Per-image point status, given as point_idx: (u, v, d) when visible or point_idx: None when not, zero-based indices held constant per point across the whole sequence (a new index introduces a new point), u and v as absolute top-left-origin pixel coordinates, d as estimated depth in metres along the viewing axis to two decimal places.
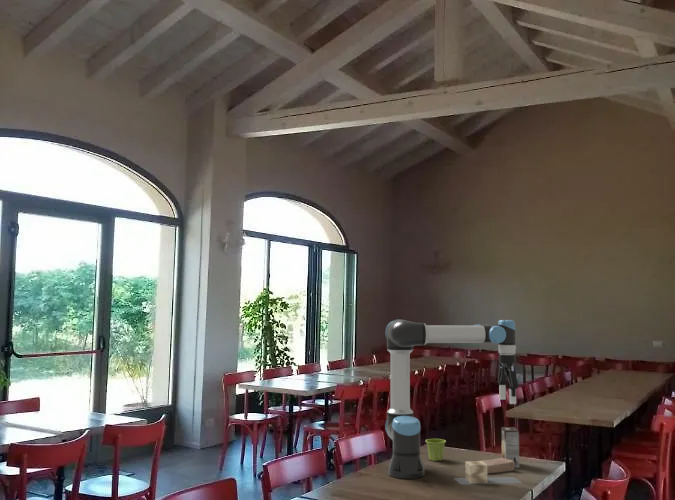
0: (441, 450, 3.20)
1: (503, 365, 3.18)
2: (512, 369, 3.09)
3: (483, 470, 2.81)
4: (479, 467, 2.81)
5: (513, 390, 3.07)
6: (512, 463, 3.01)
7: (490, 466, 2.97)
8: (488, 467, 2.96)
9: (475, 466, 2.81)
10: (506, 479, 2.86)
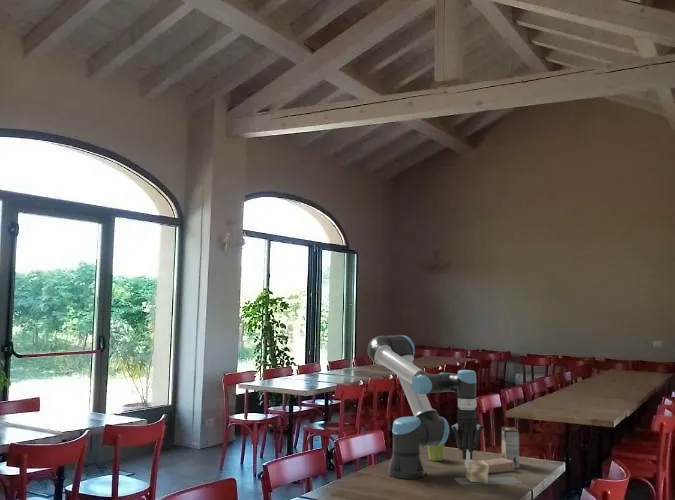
0: (441, 450, 3.20)
1: None
2: (453, 429, 2.84)
3: (484, 470, 2.81)
4: (481, 466, 2.81)
5: (462, 452, 2.84)
6: (512, 463, 3.01)
7: (489, 466, 2.97)
8: None
9: (477, 465, 2.81)
10: (506, 479, 2.86)
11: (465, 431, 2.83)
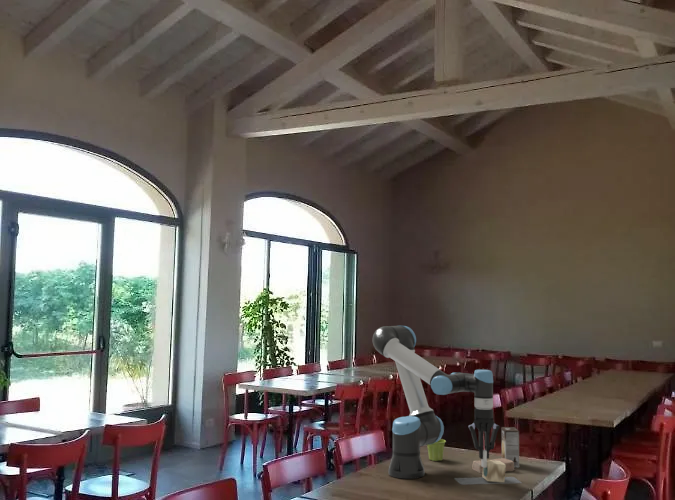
0: (441, 450, 3.20)
1: None
2: (470, 429, 2.85)
3: (499, 478, 2.81)
4: (502, 474, 2.81)
5: (479, 451, 2.85)
6: (511, 463, 3.00)
7: None
8: None
9: (504, 470, 2.82)
10: (506, 479, 2.86)
11: (482, 430, 2.84)
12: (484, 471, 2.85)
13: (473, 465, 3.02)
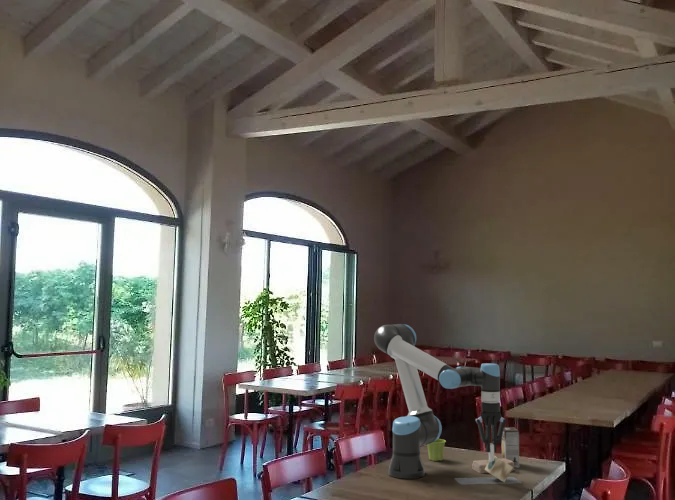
0: (441, 450, 3.20)
1: None
2: (477, 423, 2.85)
3: (501, 476, 2.81)
4: (506, 474, 2.82)
5: (486, 445, 2.85)
6: (511, 463, 3.00)
7: None
8: None
9: (509, 471, 2.82)
10: (506, 479, 2.86)
11: (489, 424, 2.84)
12: (489, 464, 2.86)
13: (473, 465, 3.02)
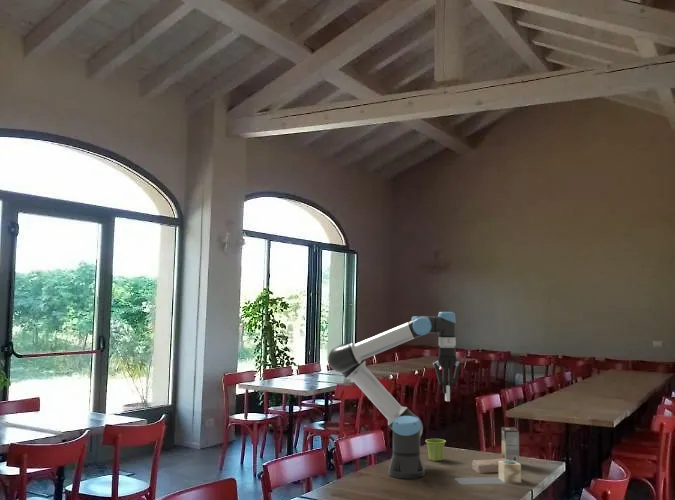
0: (441, 450, 3.20)
1: None
2: (434, 366, 3.08)
3: (508, 477, 2.82)
4: (511, 480, 2.82)
5: (443, 387, 3.07)
6: None
7: (486, 465, 2.98)
8: (484, 466, 2.97)
9: (516, 481, 2.82)
10: None
11: (445, 367, 3.06)
12: (506, 462, 2.87)
13: (473, 464, 3.03)
